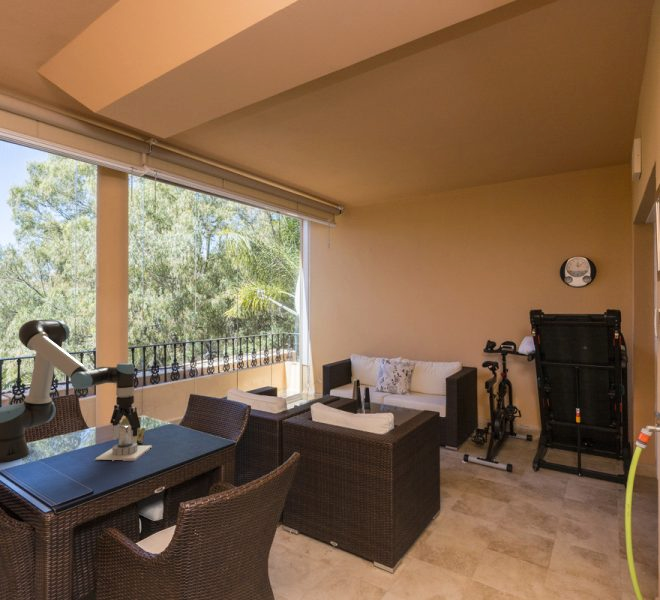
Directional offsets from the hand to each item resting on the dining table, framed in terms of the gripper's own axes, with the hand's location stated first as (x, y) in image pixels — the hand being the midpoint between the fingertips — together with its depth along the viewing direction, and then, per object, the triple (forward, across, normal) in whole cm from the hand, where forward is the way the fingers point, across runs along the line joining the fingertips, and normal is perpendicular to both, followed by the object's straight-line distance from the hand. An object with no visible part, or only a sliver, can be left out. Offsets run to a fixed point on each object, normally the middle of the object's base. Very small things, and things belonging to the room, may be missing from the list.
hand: (125, 440), depth 195 cm
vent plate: (+6, 0, 0) cm, 6 cm away
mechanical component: (+7, +10, -12) cm, 17 cm away
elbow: (+5, 0, -1) cm, 5 cm away
